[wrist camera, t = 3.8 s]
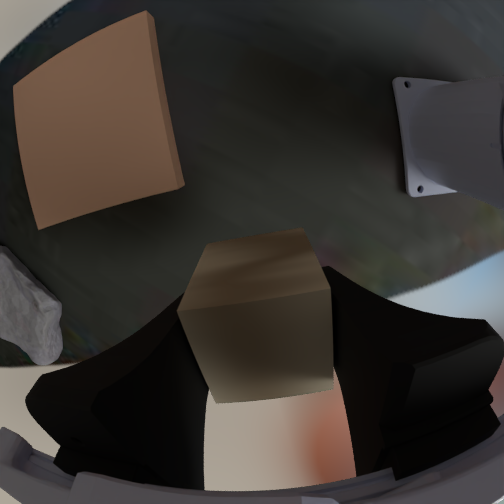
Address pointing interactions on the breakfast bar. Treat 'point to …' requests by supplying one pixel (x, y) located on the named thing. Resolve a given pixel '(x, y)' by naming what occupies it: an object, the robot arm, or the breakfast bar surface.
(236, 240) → the birch block
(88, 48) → the terracotta tile
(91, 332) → the breakfast bar surface
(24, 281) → the stone block
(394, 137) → the breakfast bar surface
